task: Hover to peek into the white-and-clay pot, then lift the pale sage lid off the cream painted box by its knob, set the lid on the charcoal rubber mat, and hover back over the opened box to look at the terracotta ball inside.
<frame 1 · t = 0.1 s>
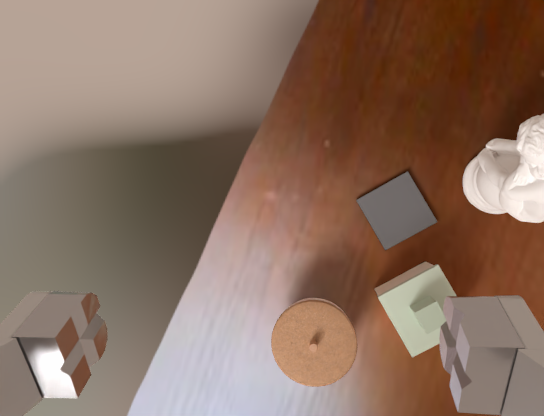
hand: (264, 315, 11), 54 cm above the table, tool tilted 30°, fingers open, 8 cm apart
cherub figurine: (508, 182, 62), on the table
cream box: (414, 300, 63), on the table
lidded jar: (315, 328, 65), on the table
mat: (395, 210, 63), on the table
lid: (423, 309, 57), point 6 cm above the table, touching cream box
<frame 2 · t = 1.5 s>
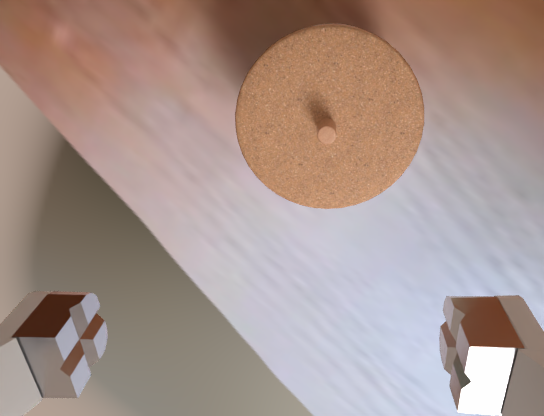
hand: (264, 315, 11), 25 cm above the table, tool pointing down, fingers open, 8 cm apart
lidded jar: (328, 94, 33), on the table
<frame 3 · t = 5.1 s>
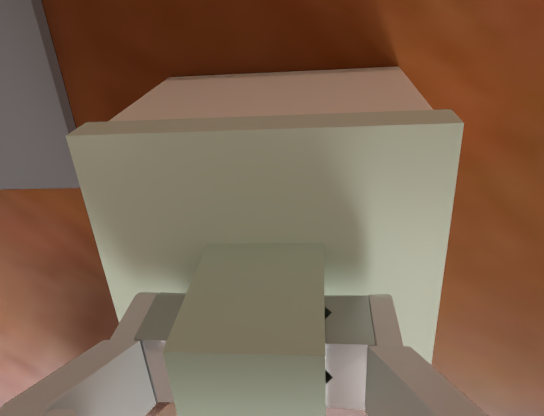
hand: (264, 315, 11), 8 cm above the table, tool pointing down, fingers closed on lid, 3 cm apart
cream box: (286, 177, 18), on the table
lid: (272, 267, 12), point 6 cm above the table, touching cream box, gripper
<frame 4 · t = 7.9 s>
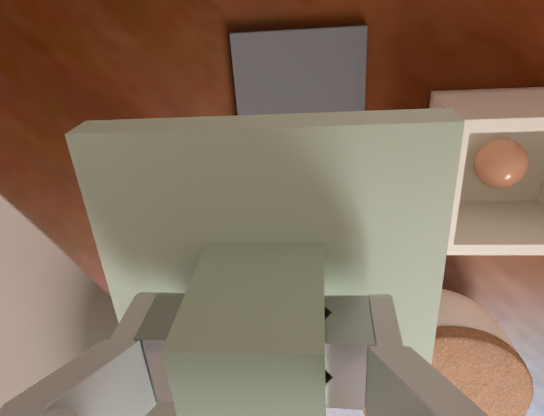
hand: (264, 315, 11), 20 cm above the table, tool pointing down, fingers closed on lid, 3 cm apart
cream box: (489, 151, 29), on the table
lidded jar: (420, 316, 36), on the table
mat: (300, 96, 29), on the table
ball: (500, 163, 27), point 2 cm above the table, touching cream box
lid: (271, 266, 12), point 19 cm above the table, touching gripper
when the fingers open (4 cm above the table, at t = 11.0 s): lid drops 2 cm, resting on mat.
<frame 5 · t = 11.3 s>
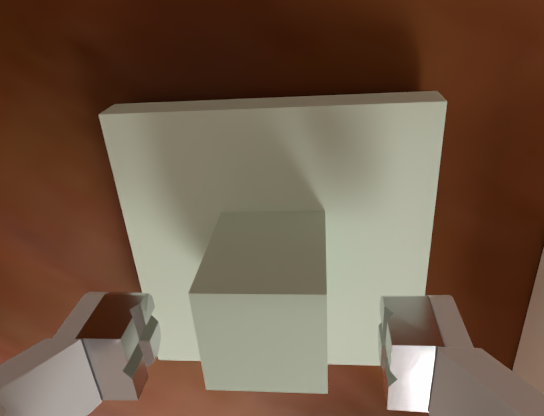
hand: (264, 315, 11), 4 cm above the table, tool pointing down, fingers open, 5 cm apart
lid: (278, 236, 14), point 1 cm above the table, touching mat
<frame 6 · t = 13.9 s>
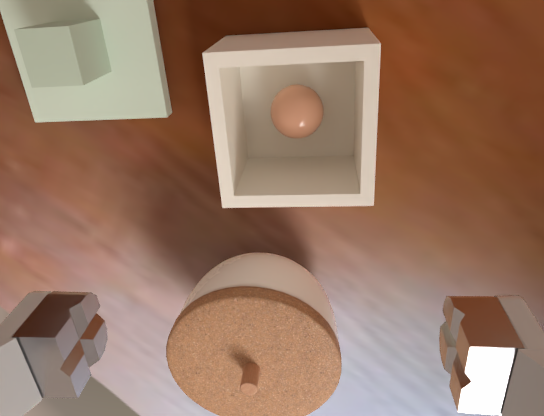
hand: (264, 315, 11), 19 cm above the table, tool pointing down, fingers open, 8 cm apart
cream box: (298, 102, 27), on the table
lidded jar: (265, 285, 34), on the table
ball: (296, 111, 26), point 2 cm above the table, touching cream box
lid: (90, 44, 26), point 1 cm above the table, touching mat
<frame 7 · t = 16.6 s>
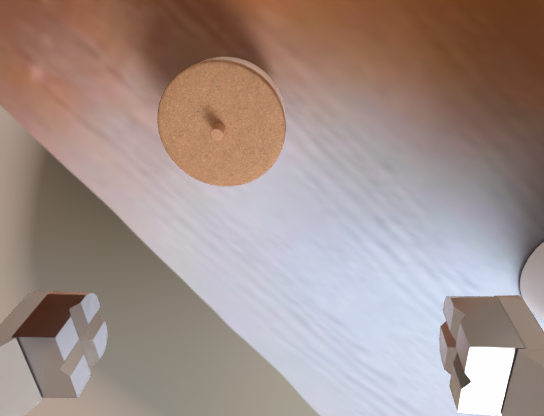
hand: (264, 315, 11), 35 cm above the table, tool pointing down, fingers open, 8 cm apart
lidded jar: (236, 103, 44), on the table
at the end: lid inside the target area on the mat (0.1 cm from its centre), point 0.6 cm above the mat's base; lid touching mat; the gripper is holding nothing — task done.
